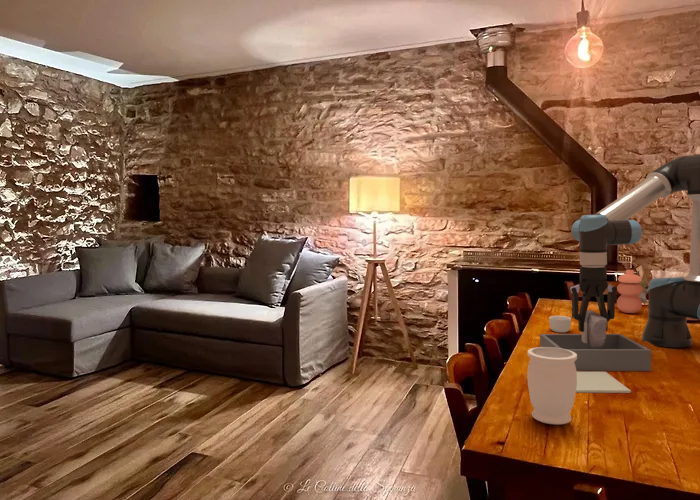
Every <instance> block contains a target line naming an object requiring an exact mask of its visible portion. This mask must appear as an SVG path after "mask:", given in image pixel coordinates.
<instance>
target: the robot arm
mask: <svg viewBox="0 0 700 500" xmlns="http://www.w3.org/2000/svg"><path fill="white" fill-rule="evenodd" d="M684 191H686V195H687V196H686V197H688V198H689V199H690V200H691V201H692V202H691V203H692V204H691V225H690V227H691V228H690V229H691V230H690V249H689V250H690V251H689V273H688V274H687V275H686V276H681V277H679V276H677V277H656V278H652V279H651V280H650V281H649V282H648V284H649V285H648V287H649V289H648V293H647V294H648V298H647V299H648V300H647V304H648V305H647V307H648V317H647V321H646V324H645V327H644V329H643V331H642V335H641V336H642V337H641V340H642V341H643V342H647V343H649V344H651V345H653V346H657V347H667V348H687V347H691V346H692V345H693V344H692V343H693V338H692V335H691V332H690V329H689V326H688V323H687V320H686V318H687V317H688V318H693V319H698V320H697V321H700V153H699V154H691V155H683V156H678V157H676V158H673V159H672V160H669V161H668V162H666V163H664V164H662V165H661V166H659V167H657V168H655V170H653V171H651V172H650V173H648V174H647V175H646V177H645V180H643V181H641V182H640V183H639V184H637V185H636V186H634V187H633V188H631V189H630V190H629V191H627V192H626V193H624V194H623V195H621V196H619V197H618V198H617V199H615V200H614V201H612V202H611V203H609V204H608V205H606V206H605V207H604V208H602V209H601V210H599V211H597V212H596V213H595V214H584V215H582V216H581V217H580V218H579V219H577V220H576V221H575V222H574V223H573V224H572V226H571V235H572V237H573V239H574V240H575V241H577V242H579V265H580V266H579V281H578V284H576V285H574V286H569V288H568V289H569V291H570V295H571V317H572V318H571V319H574V320H576V321H577V322H578V331H579V332H581V334H582V342H584V343H587V322H586V321H585V317H586V313H587V311H588V308H589V303H590V300H591V298H592V297H595V299H596V302H597V306H598V310H599V315H601V316H603V317H604V318H606V319H607V329H606V332H608V330H609V329H608V325H609V324H608V322H610V320H614V319H615V306H616V305H615V304H616V294H617V292H618V291H617V286H614V285H610V284H609V282H608V281H607V279H608V274H607V273H608V268H607V267H606V266H607V265H608V256H607V255H608V246H619V245H621V246H622V245H627V246H628V245H631V244H637V243H638V242H639V241H640V239H642V235H643V234H642V232H643V231H642V230H643V229H642V226H641V224H640V223H639V222H638V221H637V220H634V219H630V218H632V217H633V216H635V215H636V214H638V213H639V212H641V211H642V210H644V209H645V208H647V207H649V206H650V205H651V204H653V203H654V202H656V201H657V200H659V199H660V198H666V197H668V196H670V195H671V194H674V193H677V192H678V193H679V192H684ZM580 291H581V292H582V297H581V299H582V300H581V302H580V307H579V292H580ZM605 291H607V300H606V303H607V304H606V303H605V297H604V293H605ZM606 305H607V308H606Z"/></svg>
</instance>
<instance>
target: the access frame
mask: <svg viewBox="0 0 700 500" xmlns="http://www.w3.org/2000/svg"><path fill="white" fill-rule="evenodd" d="M539 347H554V348H562V349H566V350H570V351H573V352H575V353H576V354H577V359H576V361H574V363H575V367H576V372H651V370H652V369H651V368H652V349H649V348H648V347H646V346H644V345H643V344H640V343H638V342H637V341H635V340H633V339H631V338H630V337H627V336H625V335H623V334H621V333H606V338H605V341H604V344H603V346H601V347H592V346H591V345H589V344H588V343H584V342H582V333H541V334H539Z"/></svg>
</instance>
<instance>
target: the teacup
mask: <svg viewBox="0 0 700 500" xmlns="http://www.w3.org/2000/svg"><path fill="white" fill-rule="evenodd" d="M548 319H549V320H548V322H549V327H550V330H551V331H552V332H554V333H557V334H567V333H568V332H569V331H570V330H571V324H572V318H571V316H566V315H565V316H564V315H552V316H551V315H550V316H549V318H548Z"/></svg>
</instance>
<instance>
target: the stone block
mask: <svg viewBox="0 0 700 500" xmlns="http://www.w3.org/2000/svg"><path fill="white" fill-rule="evenodd" d="M585 321H586V322H587V343H588V344H589V345H591V346H592V347H601V346H603V344H604V341H605V338H606V334H607V331H606V329H607V319H606V318H604V317H603V316H601V315H600V313H598V312H596V311H593V310H587V313H586V317H585Z"/></svg>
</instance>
